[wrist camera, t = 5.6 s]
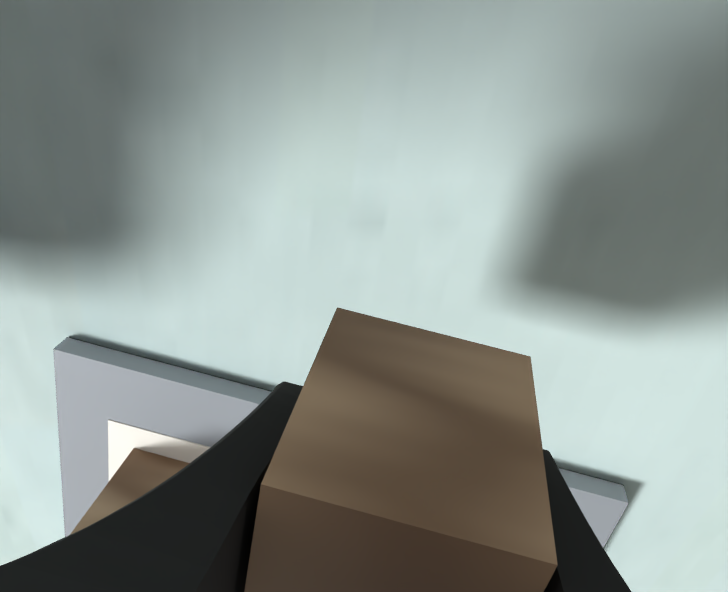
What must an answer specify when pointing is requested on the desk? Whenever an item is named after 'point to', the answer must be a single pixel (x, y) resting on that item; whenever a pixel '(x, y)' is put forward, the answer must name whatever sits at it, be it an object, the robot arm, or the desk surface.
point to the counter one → (130, 483)
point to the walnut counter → (406, 470)
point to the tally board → (186, 425)
